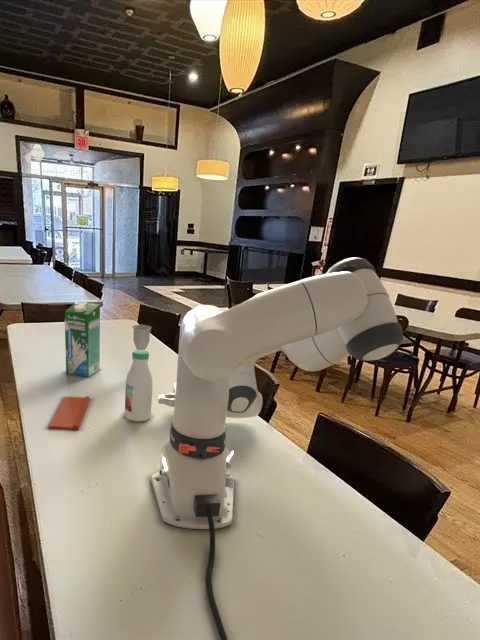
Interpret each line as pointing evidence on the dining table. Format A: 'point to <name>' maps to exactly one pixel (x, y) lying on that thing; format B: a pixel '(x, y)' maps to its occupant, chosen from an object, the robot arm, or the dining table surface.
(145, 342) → the chalice
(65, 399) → the roof tile
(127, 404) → the milk bottle
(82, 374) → the milk carton
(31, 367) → the dining table surface
